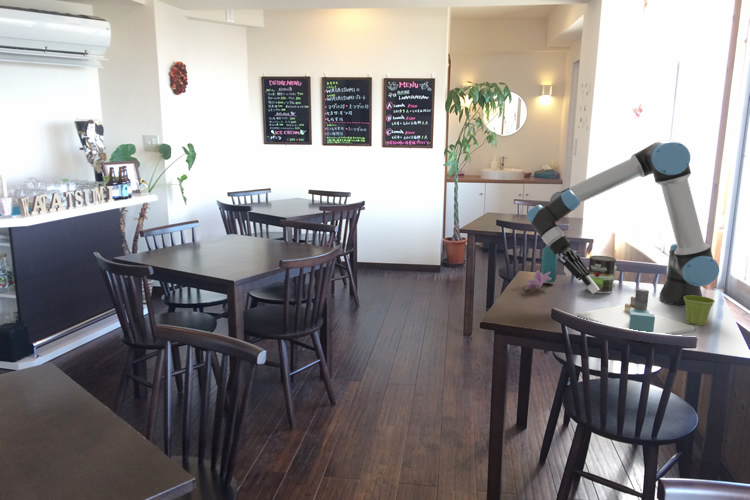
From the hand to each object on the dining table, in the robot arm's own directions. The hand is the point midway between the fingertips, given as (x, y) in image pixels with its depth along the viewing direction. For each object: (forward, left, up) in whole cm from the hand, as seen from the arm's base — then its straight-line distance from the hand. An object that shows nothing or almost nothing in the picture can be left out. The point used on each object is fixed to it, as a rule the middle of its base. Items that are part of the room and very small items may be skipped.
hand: (596, 291), depth 201 cm
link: (-7, +13, -7) cm, 16 cm away
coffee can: (-26, -22, -8) cm, 35 cm away
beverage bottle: (-13, -39, -8) cm, 42 cm away
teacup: (-38, -32, -8) cm, 50 cm away
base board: (-3, +14, -8) cm, 17 cm away
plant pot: (-23, +23, -8) cm, 34 cm away
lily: (-1, -30, -8) cm, 32 cm away
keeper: (+1, +20, -7) cm, 22 cm away
